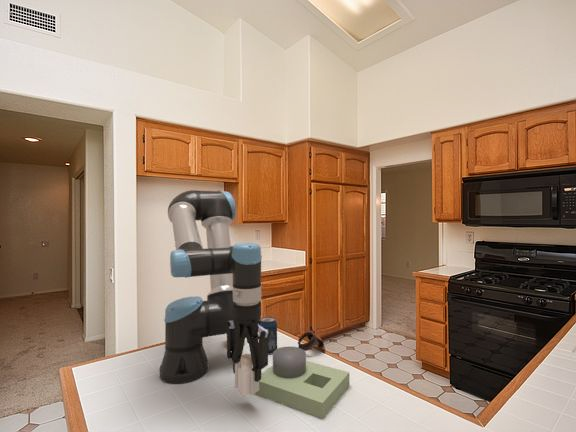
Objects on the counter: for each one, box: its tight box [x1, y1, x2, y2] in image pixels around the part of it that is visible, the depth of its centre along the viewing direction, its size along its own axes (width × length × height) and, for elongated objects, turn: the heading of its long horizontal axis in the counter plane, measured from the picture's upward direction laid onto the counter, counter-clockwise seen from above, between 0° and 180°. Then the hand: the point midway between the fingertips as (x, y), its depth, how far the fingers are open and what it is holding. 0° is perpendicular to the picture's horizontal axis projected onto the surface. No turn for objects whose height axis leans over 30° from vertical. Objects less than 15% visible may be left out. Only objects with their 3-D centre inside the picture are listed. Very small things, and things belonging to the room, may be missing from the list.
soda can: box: [260, 316, 278, 355], centre depth 118 cm, size 7×7×12 cm
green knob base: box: [254, 346, 350, 420], centre depth 92 cm, size 22×18×9 cm
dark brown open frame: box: [297, 329, 326, 354], centre depth 119 cm, size 12×10×8 cm
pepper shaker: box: [237, 353, 253, 397], centre depth 84 cm, size 4×4×10 cm
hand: (247, 388), depth 84 cm, fingers closed on pepper shaker, 5 cm apart
